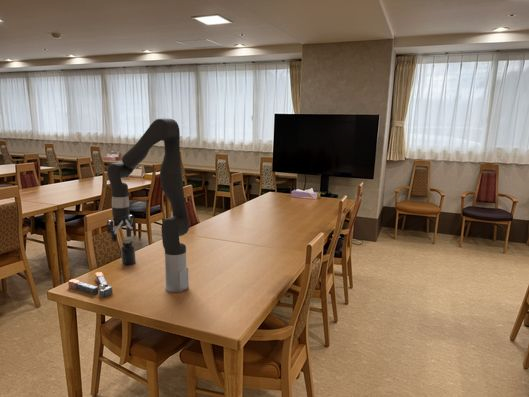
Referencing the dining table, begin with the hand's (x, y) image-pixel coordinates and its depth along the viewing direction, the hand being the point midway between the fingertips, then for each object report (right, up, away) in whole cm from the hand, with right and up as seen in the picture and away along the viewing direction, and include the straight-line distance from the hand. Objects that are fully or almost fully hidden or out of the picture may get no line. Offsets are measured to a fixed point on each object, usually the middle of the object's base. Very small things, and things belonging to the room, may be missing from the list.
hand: (121, 239), depth 175 cm
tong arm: (-7, -20, -5) cm, 22 cm away
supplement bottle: (-5, -15, +22) cm, 27 cm away
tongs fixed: (-10, -22, -11) cm, 26 cm away
